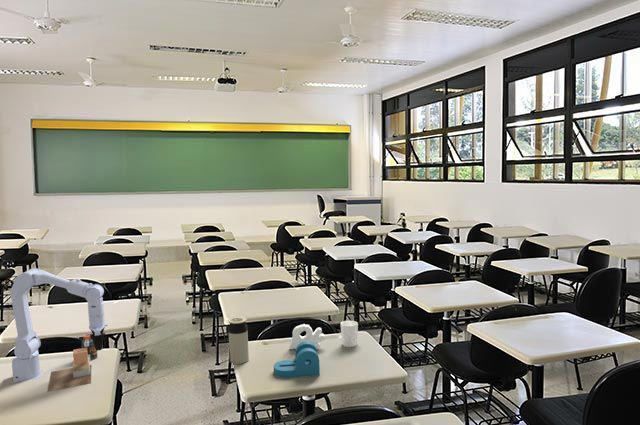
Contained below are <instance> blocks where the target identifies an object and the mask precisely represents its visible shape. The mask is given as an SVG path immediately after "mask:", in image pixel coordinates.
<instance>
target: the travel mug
mask: <svg viewBox="0 0 640 425" xmlns="http://www.w3.org/2000/svg"><path fill="white" fill-rule="evenodd" d="M228 323H229V326H228V328H227V329H228V344H229V345H228V348H229V362H230V363H231V364H236V365H241V364H245V363H247V362H248V361H249V359H250V357H249V338H248V337H249V335H248V330H249V329H248V325H247V318H246V317H242V316H236V317H231V318H230V319H229V320H228Z"/></svg>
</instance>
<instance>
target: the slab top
mask: <svg viewBox="0 0 640 425" xmlns="http://www.w3.org/2000/svg"><path fill="white" fill-rule="evenodd" d="M90 363H91V362H90V361H89V358H88V362H87V363H82V364H76V365H74V359H73V360H72V368H73V372H75V371H80V370H85V369H89V367H90V365H91V364H90Z"/></svg>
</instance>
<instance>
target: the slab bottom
mask: <svg viewBox="0 0 640 425" xmlns="http://www.w3.org/2000/svg"><path fill="white" fill-rule="evenodd" d="M86 375H90V367H89V369H85V370H80V371H75V372H73V378H75V377H80V376H86Z"/></svg>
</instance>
